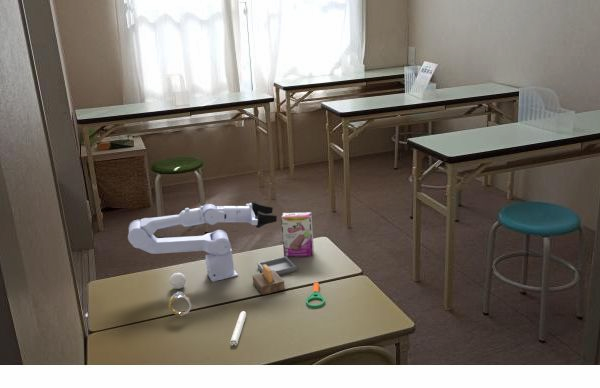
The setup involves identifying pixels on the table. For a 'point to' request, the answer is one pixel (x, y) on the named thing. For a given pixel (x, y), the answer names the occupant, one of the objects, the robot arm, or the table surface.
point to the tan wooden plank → (267, 273)
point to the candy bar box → (297, 234)
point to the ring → (179, 295)
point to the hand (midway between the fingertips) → (274, 214)
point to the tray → (279, 265)
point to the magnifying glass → (312, 297)
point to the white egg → (177, 280)
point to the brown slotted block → (268, 287)
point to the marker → (238, 328)
